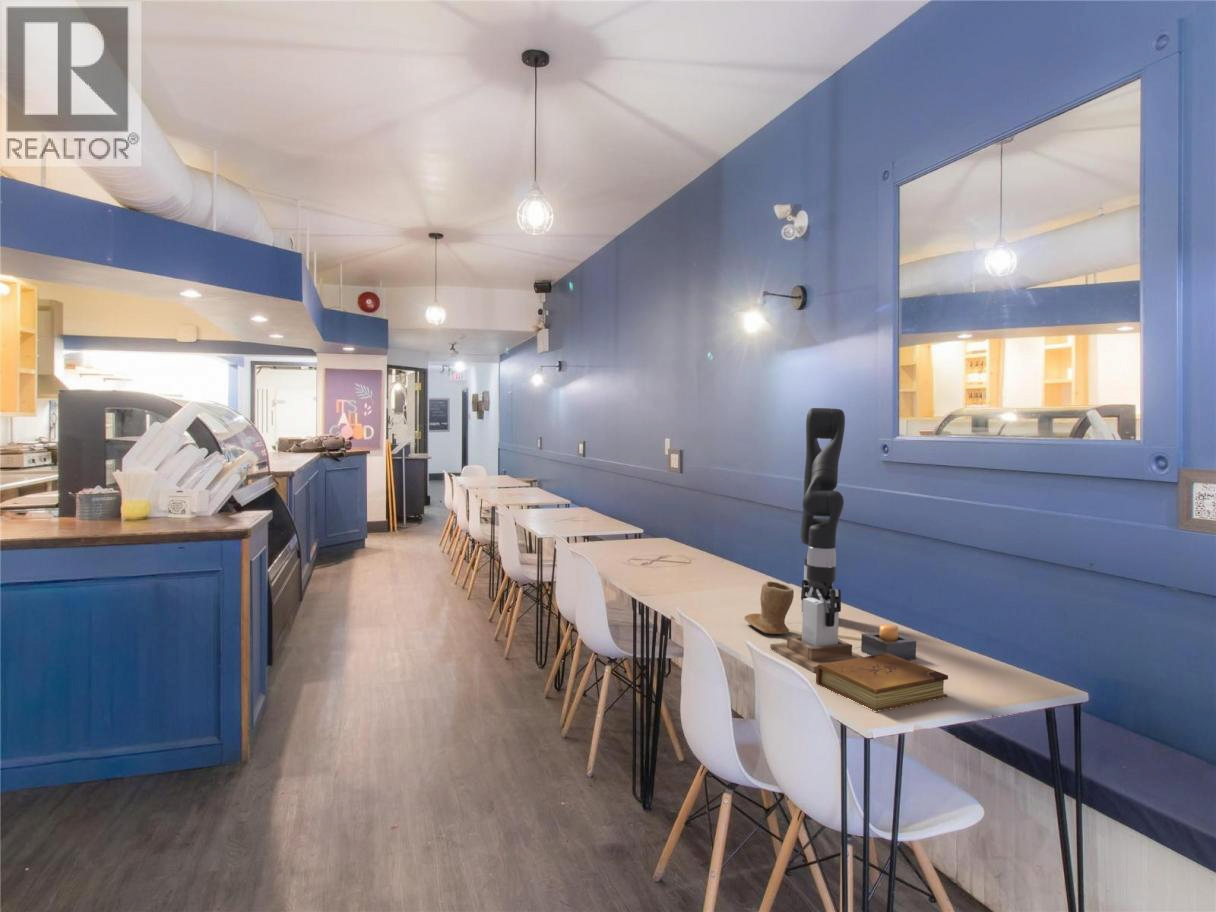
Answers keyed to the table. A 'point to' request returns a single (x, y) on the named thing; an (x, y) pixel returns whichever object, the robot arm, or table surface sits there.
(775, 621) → the brown hat
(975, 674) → the table surface
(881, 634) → the button
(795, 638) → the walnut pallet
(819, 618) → the skincare box
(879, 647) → the button housing
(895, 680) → the diary
